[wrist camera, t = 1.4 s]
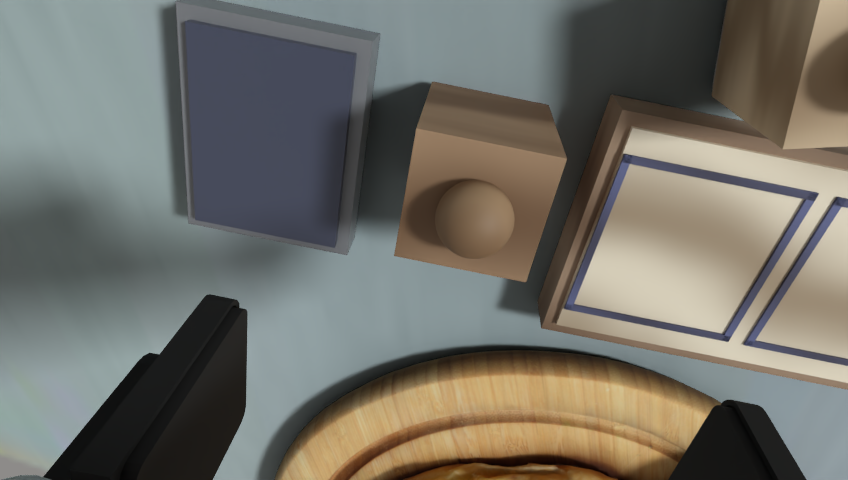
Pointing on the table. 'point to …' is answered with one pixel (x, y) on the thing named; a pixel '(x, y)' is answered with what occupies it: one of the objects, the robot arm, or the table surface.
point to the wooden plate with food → (503, 422)
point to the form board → (706, 245)
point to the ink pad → (274, 122)
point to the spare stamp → (786, 69)
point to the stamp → (480, 182)
